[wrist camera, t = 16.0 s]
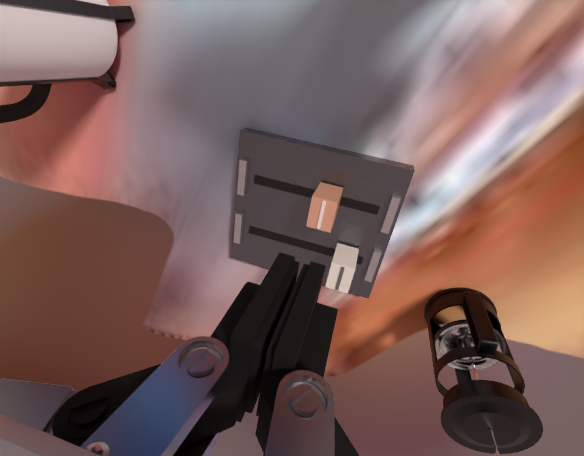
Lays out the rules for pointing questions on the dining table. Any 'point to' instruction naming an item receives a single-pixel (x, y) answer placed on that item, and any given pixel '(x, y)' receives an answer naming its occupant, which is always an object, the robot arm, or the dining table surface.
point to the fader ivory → (342, 268)
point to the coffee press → (56, 47)
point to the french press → (478, 393)
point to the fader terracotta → (324, 207)
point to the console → (297, 198)
